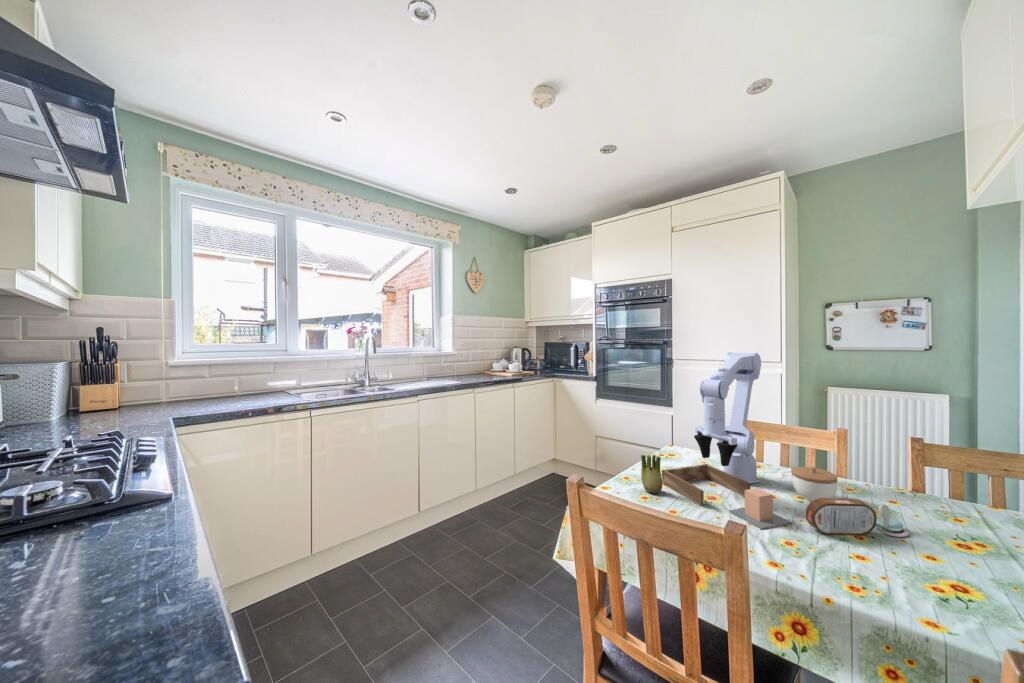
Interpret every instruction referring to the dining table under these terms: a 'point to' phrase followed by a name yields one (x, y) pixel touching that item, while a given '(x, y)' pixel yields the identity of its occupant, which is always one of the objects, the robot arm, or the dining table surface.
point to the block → (759, 504)
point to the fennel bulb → (651, 474)
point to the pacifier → (890, 523)
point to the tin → (841, 516)
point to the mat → (760, 524)
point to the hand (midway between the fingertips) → (715, 461)
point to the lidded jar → (814, 483)
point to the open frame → (680, 475)
